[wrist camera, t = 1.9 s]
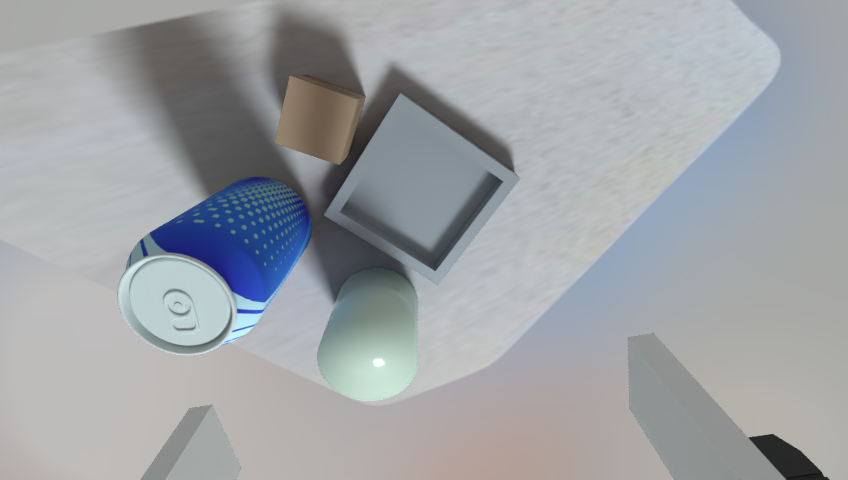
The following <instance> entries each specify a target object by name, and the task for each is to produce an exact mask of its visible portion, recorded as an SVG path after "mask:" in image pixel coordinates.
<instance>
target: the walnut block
mask: <svg viewBox="0 0 848 480" xmlns="http://www.w3.org/2000/svg"><path fill="white" fill-rule="evenodd" d="M365 98H366V96H363V95H360V94H357V93H355V92H352V91H349V90H346V89H343V88H341V87H338V86H335V85H332V84H330V83H327V82H324V81H321V80H319V79H316V78H313V77H310V76H307V75H290V76H289V81H288V85H287V90H286V94H285V99H284V103H283V108H282V112H281V117H280V121H279V126H278V130H277V135H276V139H275V143H276V144H279V145H282V146H284V147H287V148H290V149H293V150H296V151H299V152H302V153H305V154H308V155H311V156H314V157H317V158H320V159H323V160H326V161H329V162H332V163H335V164H338V165H340V164H341V163H342V162H343V161H344V159H345V158H346V157H347V156H348V155H349V154H350V150H351V147H352V143H353V140H354V136H355V133H356V129H357V126H358V122H359V119H360V115H361V112H362V108H363V105H364V101H365Z"/></svg>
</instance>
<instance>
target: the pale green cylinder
mask: <svg viewBox="0 0 848 480" xmlns="http://www.w3.org/2000/svg"><path fill="white" fill-rule="evenodd" d="M317 361H318V366H319V370H320V372H321V374H322V376H323V378H324V379H325V380H326V382H327V383H328V384H329V385H330V386H331V387H332V388H333V389H335V390H336V391H337V392H339V393H341V394H343V395H345V396H347V397H350V398H353V399H357V400H364V401H376V400H382V399H386V398H389V397H392V396H394V395H396V394H398V393H399V392H401V391H402V390H403V389H405V388H406V387H407V386H408V385H409V384H410V382H411V381H412V379H413V377H414V375H415V373H416V370H417V365H418V298H417V294H416V292H415V290H414V288H413V286H412V285H411V284H410V282H409V281H408V280H407V279H406V278H405V277H403V276H402V275H400V274H398V273H397V272H394V271H392V270H389V269H384V268H369V269H364V270H361V271H359V272H357V273H355V274H353V275H352V276H350V277H349V278H348V279H347V280H346V281H345V282H344V284H343V285H342V287H341V289H340V291H339V294H338V296H337V299H336V302H335V305H334V307H333V310H332V313H331V315H330V318H329V321H328V324H327V326H326V329H325V332H324V334H323V337H322V340H321V343H320V345H319V348H318V354H317Z"/></svg>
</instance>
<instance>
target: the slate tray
mask: <svg viewBox="0 0 848 480" xmlns="http://www.w3.org/2000/svg"><path fill="white" fill-rule="evenodd" d="M519 180H520V178H519V177H518V176H517V175H516V173H514V172H513V171H512V170H510V169H509V168H507V167H506V166H505V165H503V164H502V163H500V162H499V161H497V160H496V159H495V158H493V157H492V156H490V155H489V154H488V153H486V152H485V151H483V150H482V149H481V148H479V147H478V146H476V145H475V144H474V143H472V142H471V141H469V140H468V139H466V138H465V137H464V136H462V135H461V134H459V133H458V132H457V131H455V130H454V129H452V128H451V127H450V126H448V125H447V124H445V123H444V122H443V121H441V120H440V119H438V118H437V117H435V116H434V115H433V114H431V113H430V112H428V111H427V110H426V109H424V108H423V107H421V106H420V105H419V104H417V103H416V102H414V101H413V100H412V99H410V98H409V97H407V96H406V95H404V94H403V93H402V92H401V93H400V94H399V96H398V97H397V99H396V100H395V102H394V104H393V105H392V107H391V108H390V110H389V112H388V113H387V115H386V116H385V118H384V120H383V121H382V123H381V124H380V126H379V128H378V129H377V131H376V132H375V134H374V136H373V137H372V139H371V140H370V142H369V144H368V145H367V147H366V148H365V150H364V152H363V153H362V155H361V156H360V158H359V160H358V161H357V163H356V164H355V166H354V168H353V169H352V171H351V172H350V174H349V176H348V177H347V179H346V180H345V182H344V184H343V185H342V187H341V188H340V190H339V192H338V193H337V195H336V196H335V198H334V200H333V201H332V203H331V204H330V206H329V208H328V209H327V211H326V212H325V214H324V216H326V217H327V218H329V219H331V220H332V221H334V222H336V223H337V224H339V225H341V226H342V227H344V228H345V229H347V230H349V231H350V232H352V233H354V234H355V235H357V236H359V237H360V238H362V239H363V240H365V241H367V242H368V243H370V244H372V245H373V246H375V247H377V248H378V249H380V250H381V251H383V252H385V253H386V254H388V255H390V256H391V257H393V258H395V259H396V260H398V261H400V262H401V263H403V264H404V265H406V266H408V267H409V268H411V269H413V270H414V271H416V272H418V273H419V274H421V275H422V276H424V277H426V278H427V279H429V280H431V281H432V282H434V283H436V284H437V285H439V283H440V282H441V281H442V279H443V278H444V277H445V276H446V274H447V273H448V272H449V270H450V269H451V268H452V267H453V265H454V264H455V263H456V261H457V260H458V259H459V257H460V256H461V255H462V254H463V252H464V251H465V250H466V248H467V247H468V246H469V244H470V243H471V242H472V241H473V239H474V238H475V237H476V235H477V234H478V233H479V231H480V230H481V229H482V228H483V226H484V225H485V224H486V222H487V221H488V220H489V219H490V217H491V216H492V215H493V213H494V212H495V211H496V209H497V208H498V207H499V206H500V204H501V203H502V202H503V200H504V199H505V198H506V196H507V195H508V194H509V193H510V191H511V190H512V189H513V187H514V186H515V185H516V183H517V182H518V181H519Z"/></svg>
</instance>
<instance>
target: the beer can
mask: <svg viewBox="0 0 848 480" xmlns="http://www.w3.org/2000/svg"><path fill="white" fill-rule="evenodd" d="M311 227H312V226H311V218H310V215H309V212H308V209H307V207H306V205H305V204H304V202H303V201H302V199H301V198H300V197H299V196H298V195H297V193H295V192H294V191H293V190H292V189H291V188H289V187H288V186H286V185H285V184H283V183H281V182H279V181H276V180H273V179H270V178H264V177H251V178H246V179H242V180H240V181H237V182H235V183H234V184H232V185H230V186H228V187H227V188H225V189H223V190H222V191H220V192H218V193H217V194H215V195H213V196H211V197H210V198H208V199H206V200H205V201H203V202H201V203H200V204H198V205H196V206H194V207H193V208H191V209H189V210H188V211H186V212H184V213H182V214H181V215H179V216H177V217H176V218H174V219H172V220H171V221H169V222H167V223H165V224H164V225H162V226H160V227H159V228H157V229H155V230H154V231H152V232H150V233H149V234H147V235H146V236H145V237H144V238H142V239H141V240H140V241H139V242H138V243H137V245H136V246H135V247H134V249H133V250H132V252H131V254H130V256H129V258H128V261H127V265H126V271H125V272H124V274H123V275H122V277H121V279H120V282H119V285H118V292H117V297H118V304H119V309H120V311H121V314H122V316H123V318H124V320H125V321H126V323H127V324H128V326H129V327H130V328H131V329H132V330H133V332H134V333H135V334H136V335H138V336H139V337H140V338H141V339H142V340H144V341H145V342H147V343H148V344H150V345H151V346H153V347H155V348H158V349H160V350H162V351H165V352H168V353H172V354H178V355H197V354H202V353H206V352H208V351H211V350H213V349H215V348H217V347H218V346H220V345H224V344H228V343H230V342H233V341H235V340H237V339H239V338H241V337H242V336H244V335H245V334H247V333H248V332H249V331H250V330H251V329H252V328H253V327H254V326H255V325H256V323H257V322H258V321H259V319H260V318H261V316H262V315H263V313H264V311H265V310H266V308H267V307H268V305H269V304H270V302H271V301H272V299H273V298H274V296H275V295H276V293H277V292H278V290H279V289H280V287H281V285H282V284H283V282H284V281H285V279H286V278H287V276H288V275H289V273H290V272H291V270H292V269H293V267H294V266H295V264H296V263H297V261H298V259H299V258H300V256H301V255H302V253H303V252H304V250H305V249H306V247H307V245H308V243H309V240H310V237H311Z"/></svg>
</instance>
